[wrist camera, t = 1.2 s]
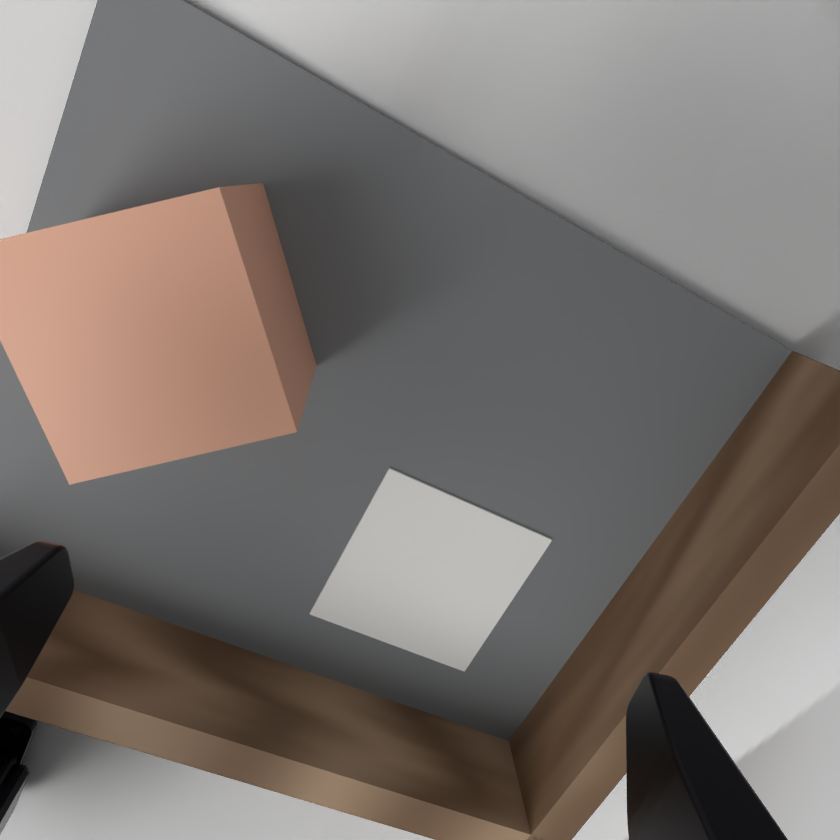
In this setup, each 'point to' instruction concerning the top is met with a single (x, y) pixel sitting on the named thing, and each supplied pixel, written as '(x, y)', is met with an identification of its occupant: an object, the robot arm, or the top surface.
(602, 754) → the corner walls
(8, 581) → the robot arm
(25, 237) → the cube
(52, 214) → the mat
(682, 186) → the top surface
